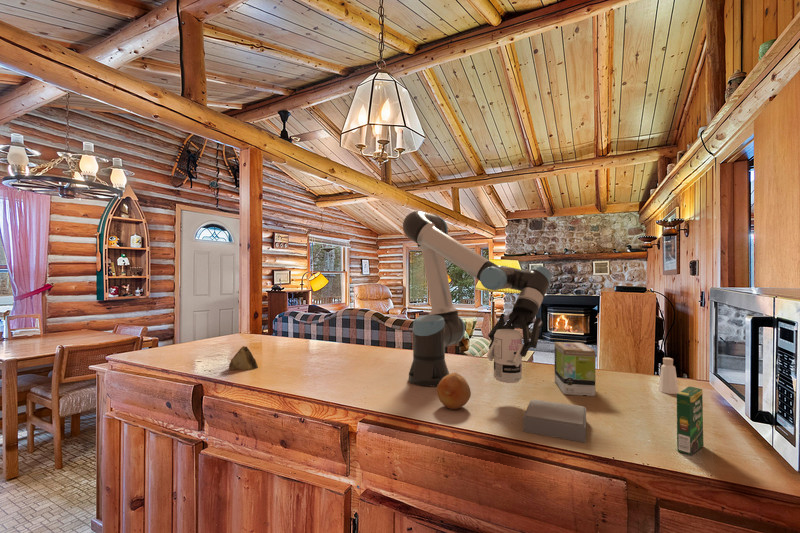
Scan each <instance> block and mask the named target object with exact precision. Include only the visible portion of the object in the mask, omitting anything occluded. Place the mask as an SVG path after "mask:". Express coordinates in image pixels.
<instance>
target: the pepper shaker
mask: <svg viewBox="0 0 800 533" xmlns="http://www.w3.org/2000/svg"><path fill="white" fill-rule="evenodd" d="M662 363H663V364H661V366H660V373H659V384H658V391H659V392H661V393H663V394H668V395H677V393H679V392H680V391H679V386H678V384H679V383H678V378H677V370H676V366H675V365H674V358H671V357H663V358H662Z"/></svg>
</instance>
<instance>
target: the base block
mask: <svg viewBox="0 0 800 533" xmlns="http://www.w3.org/2000/svg"><path fill="white" fill-rule="evenodd" d="M528 403H529V404H528V405H527V407H526V410H525V411H524V414H523V416H522V425H523V426H522V431H523V432H525V433H531V434H535V435H540V436H541V435H542V436H547V437H550V438H551V437H552V438H553V437H554V438H557V439H563V440H568V441H569V440H570V441H574V442H577V443H578V442H580V443H584V444H586V443H587V439H586V438H587V407H585V406H583V405H576V404H567V403H564V402H563V403H561V402H555V401H549V400H541V399H535V398H532V399H530V401H529V402H528Z"/></svg>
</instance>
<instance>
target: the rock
mask: <svg viewBox="0 0 800 533" xmlns="http://www.w3.org/2000/svg"><path fill="white" fill-rule="evenodd" d="M228 368H229V370H240V369H241V370H244V371H245V370H246V371H247V370H255V369H258V368H259V366H258V363H257V360H256V358H255V357H254V355H253V353H252V351H250V349H249V348H248V346H245V345H244V346H242V347H241V348H239V350H238V351H237V352H236V353H235V354H234V356H233V357H232V358H231V360H230V362H229V365H228ZM241 370H240V371H241Z"/></svg>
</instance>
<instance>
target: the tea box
mask: <svg viewBox="0 0 800 533" xmlns="http://www.w3.org/2000/svg"><path fill="white" fill-rule="evenodd" d="M596 360H597V359H596V350H595V349H593V348H591V347H590V346H588V345H587V344H585V343H583V342H567V341H565V342H563V341H555V342H554V382H555V384H556V385H557V386H558V388H559V389H560V391H561V392H562V393H563V394H564V395H570V396H583V395H587V396H586V397H596V369H597V368H596V362H597V361H596Z"/></svg>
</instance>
